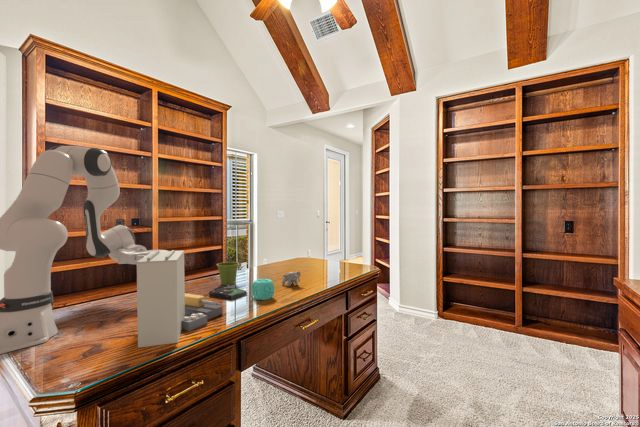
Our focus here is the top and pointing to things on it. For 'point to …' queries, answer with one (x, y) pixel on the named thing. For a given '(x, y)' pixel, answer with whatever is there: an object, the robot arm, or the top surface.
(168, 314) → the slotted cream upright block
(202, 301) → the long orange square stick
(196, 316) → the switch box
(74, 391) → the top surface
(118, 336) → the top surface
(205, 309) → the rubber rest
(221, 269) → the plant pot
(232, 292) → the disk drive
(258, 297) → the decorative dice
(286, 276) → the gray elephant figurine
